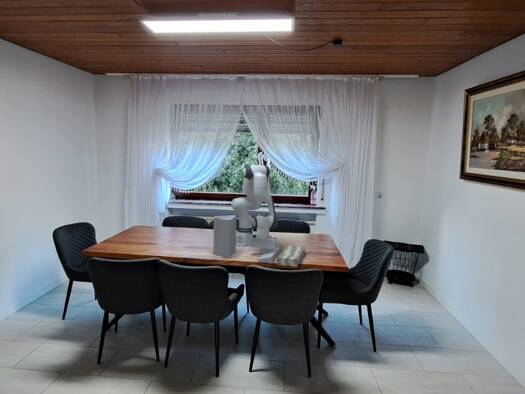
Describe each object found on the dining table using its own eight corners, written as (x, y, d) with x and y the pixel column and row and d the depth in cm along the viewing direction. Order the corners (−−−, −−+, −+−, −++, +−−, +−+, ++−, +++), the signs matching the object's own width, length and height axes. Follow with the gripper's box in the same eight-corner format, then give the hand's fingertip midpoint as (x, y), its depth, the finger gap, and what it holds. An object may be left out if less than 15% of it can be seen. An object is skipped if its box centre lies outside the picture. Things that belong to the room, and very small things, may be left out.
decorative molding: (259, 266, 256) (272, 263, 254) (257, 259, 256) (271, 257, 253) (270, 253, 289) (282, 251, 286) (269, 247, 289) (281, 245, 286)
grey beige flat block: (276, 264, 251) (276, 257, 250) (286, 251, 285) (286, 245, 285) (297, 266, 247) (297, 259, 247) (304, 253, 282) (305, 246, 281)
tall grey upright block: (217, 250, 284) (217, 214, 281) (235, 251, 282) (236, 215, 278) (209, 256, 265) (210, 218, 262) (229, 258, 263) (230, 220, 260)
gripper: (277, 235, 270) (277, 253, 272) (251, 233, 275) (251, 251, 277) (275, 237, 264) (275, 256, 266) (249, 235, 269) (248, 253, 271)
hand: (262, 253), depth 271 cm, fingers closed
